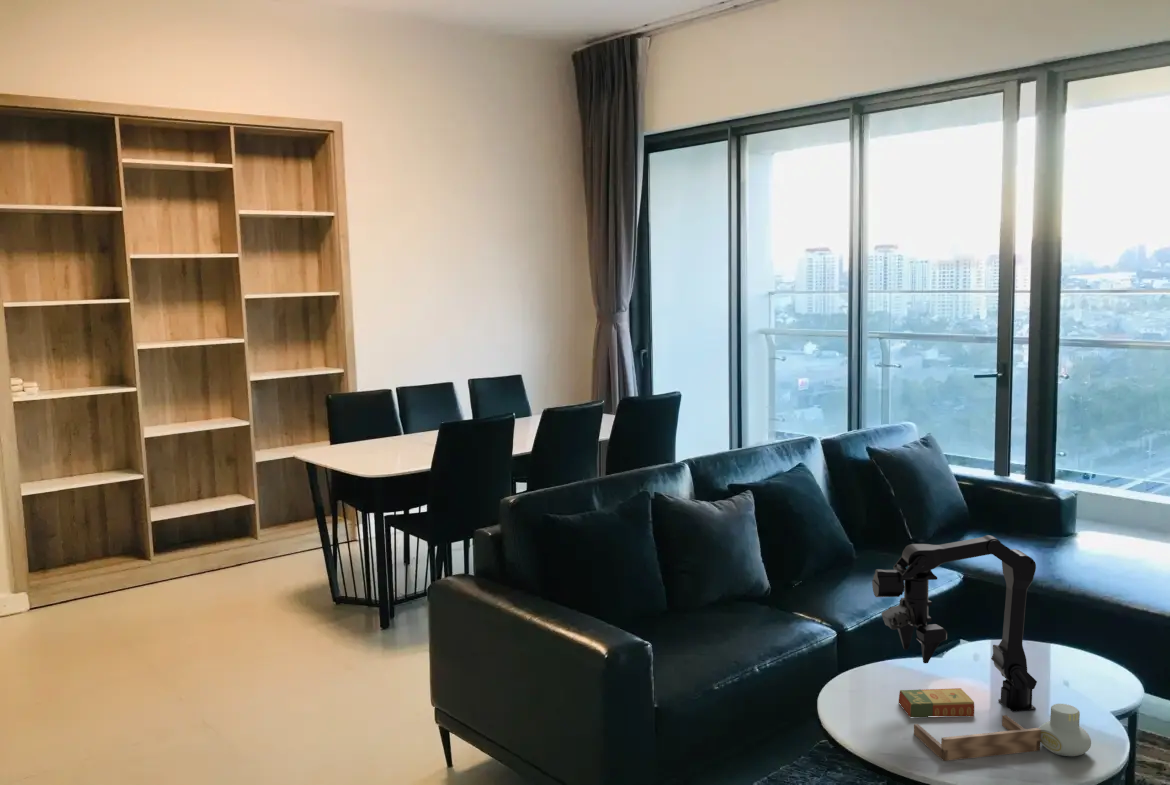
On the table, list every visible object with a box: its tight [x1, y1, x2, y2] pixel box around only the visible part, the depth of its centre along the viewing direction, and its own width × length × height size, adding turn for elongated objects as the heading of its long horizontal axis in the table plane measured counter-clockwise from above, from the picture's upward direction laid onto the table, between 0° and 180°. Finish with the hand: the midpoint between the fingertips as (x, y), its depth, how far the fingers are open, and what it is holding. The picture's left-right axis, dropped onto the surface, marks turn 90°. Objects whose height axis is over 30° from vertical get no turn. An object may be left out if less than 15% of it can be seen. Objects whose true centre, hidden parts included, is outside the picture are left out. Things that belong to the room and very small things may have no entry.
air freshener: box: [1038, 703, 1092, 757], centre depth 217 cm, size 11×8×10 cm
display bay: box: [913, 714, 1042, 762], centre depth 221 cm, size 24×13×5 cm, turn 100°
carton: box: [898, 687, 975, 718], centre depth 239 cm, size 8×16×4 cm, turn 91°
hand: (915, 656), depth 240 cm, fingers open, 9 cm apart
